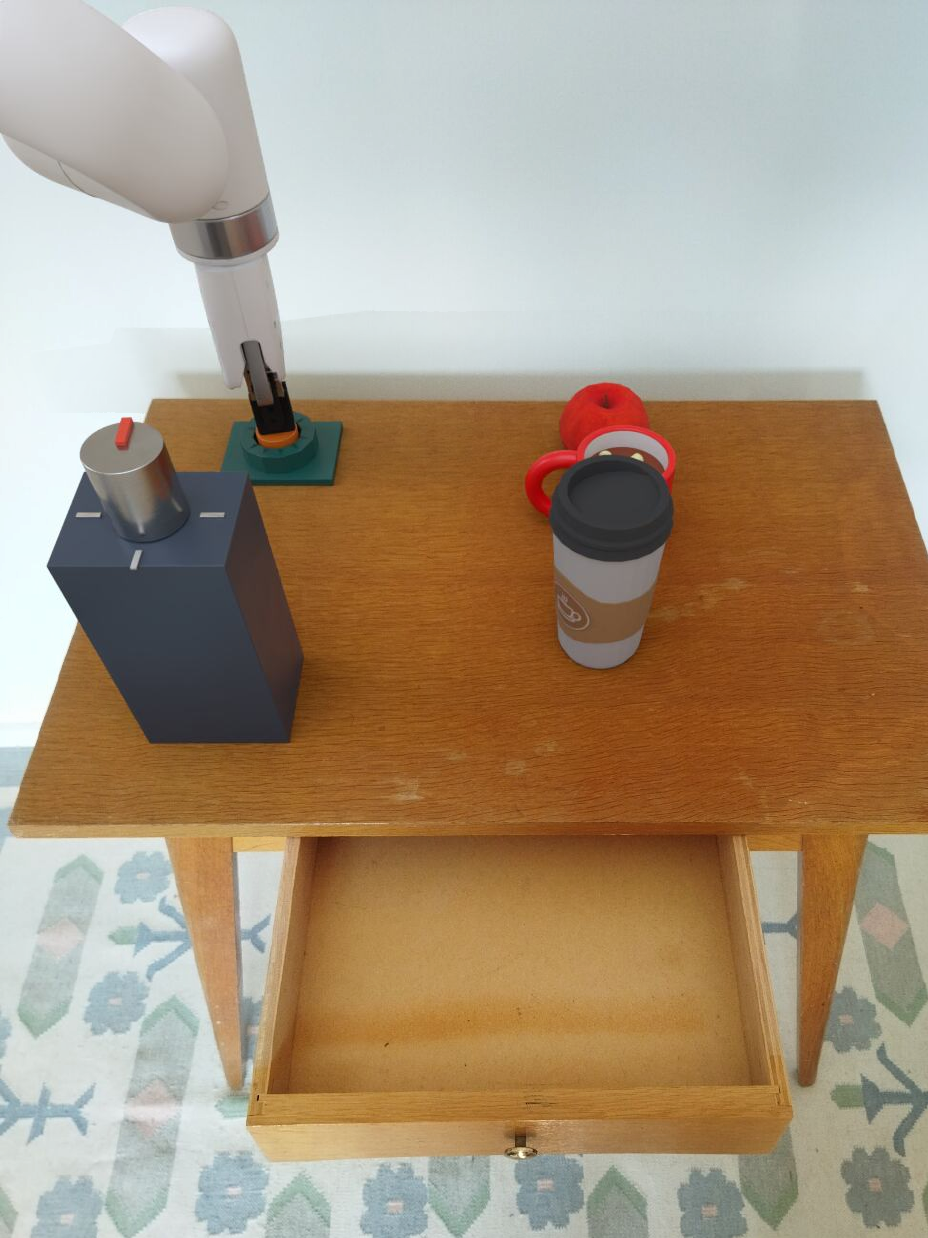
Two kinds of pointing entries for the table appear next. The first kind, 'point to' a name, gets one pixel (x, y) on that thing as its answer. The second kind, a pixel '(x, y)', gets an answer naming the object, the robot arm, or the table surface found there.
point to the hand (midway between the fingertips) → (277, 427)
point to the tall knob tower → (187, 615)
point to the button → (278, 439)
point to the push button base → (286, 454)
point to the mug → (603, 442)
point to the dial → (135, 480)
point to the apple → (600, 412)
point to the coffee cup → (607, 555)
